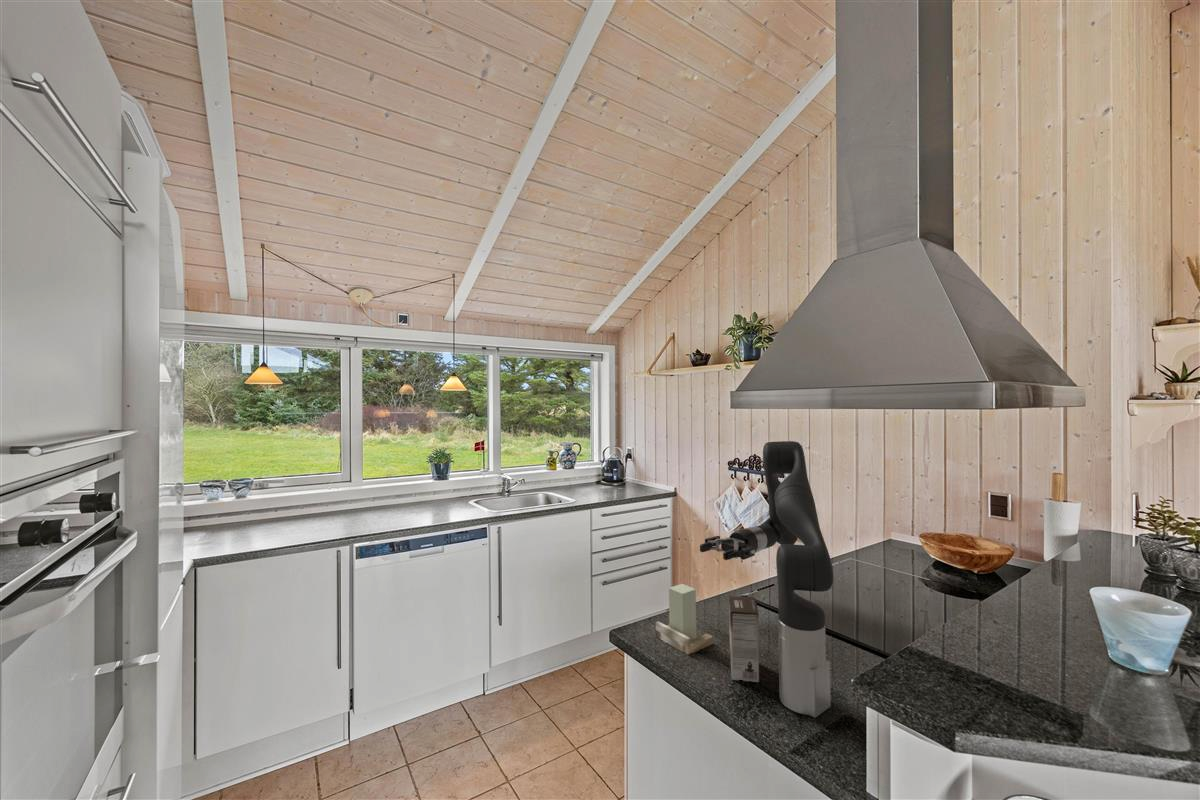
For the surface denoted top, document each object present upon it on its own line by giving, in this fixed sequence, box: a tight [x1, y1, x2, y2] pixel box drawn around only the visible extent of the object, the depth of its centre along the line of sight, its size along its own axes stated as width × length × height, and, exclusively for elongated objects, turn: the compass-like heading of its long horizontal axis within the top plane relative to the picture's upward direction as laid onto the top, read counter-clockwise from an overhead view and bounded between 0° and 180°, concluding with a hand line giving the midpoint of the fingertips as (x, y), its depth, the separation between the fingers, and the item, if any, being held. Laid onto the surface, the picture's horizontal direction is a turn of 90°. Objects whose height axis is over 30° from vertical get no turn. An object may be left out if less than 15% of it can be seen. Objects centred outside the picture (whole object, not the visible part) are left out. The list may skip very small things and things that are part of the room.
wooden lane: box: [655, 620, 714, 656], centre depth 131 cm, size 12×9×4 cm
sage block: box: [668, 583, 697, 640], centre depth 131 cm, size 5×5×14 cm
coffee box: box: [728, 595, 760, 683], centre depth 116 cm, size 9×6×16 cm
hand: (712, 552), depth 138 cm, fingers open, 8 cm apart
